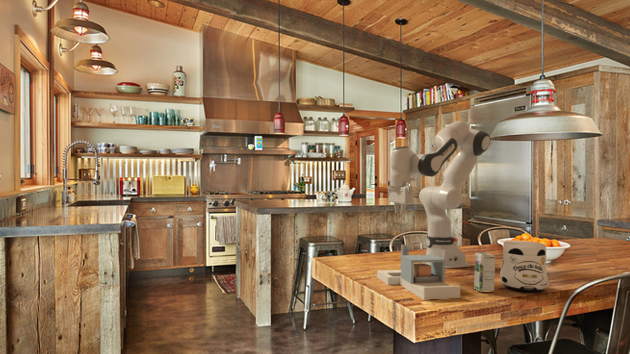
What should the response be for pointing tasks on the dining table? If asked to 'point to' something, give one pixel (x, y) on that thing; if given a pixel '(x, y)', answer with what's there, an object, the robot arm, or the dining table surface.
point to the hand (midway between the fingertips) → (399, 213)
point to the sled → (419, 278)
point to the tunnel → (409, 261)
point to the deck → (420, 286)
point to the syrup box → (484, 272)
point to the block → (422, 270)
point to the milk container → (524, 266)
